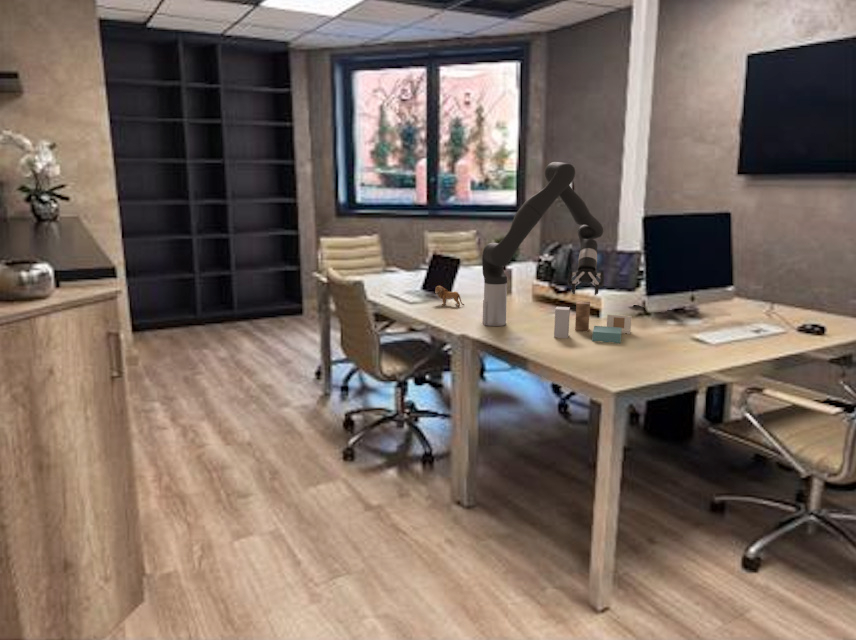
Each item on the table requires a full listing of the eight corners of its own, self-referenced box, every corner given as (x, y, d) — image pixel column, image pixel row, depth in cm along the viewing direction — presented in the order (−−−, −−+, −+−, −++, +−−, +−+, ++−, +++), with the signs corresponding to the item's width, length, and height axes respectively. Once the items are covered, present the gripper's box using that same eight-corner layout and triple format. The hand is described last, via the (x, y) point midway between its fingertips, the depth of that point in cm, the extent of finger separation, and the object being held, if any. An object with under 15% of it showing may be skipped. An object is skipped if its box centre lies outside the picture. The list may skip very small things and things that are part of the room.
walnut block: (575, 330, 254) (576, 303, 252) (575, 327, 259) (577, 301, 256) (588, 331, 253) (589, 304, 250) (588, 328, 258) (590, 301, 255)
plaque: (606, 332, 252) (607, 315, 250) (606, 329, 255) (607, 313, 254) (630, 333, 249) (631, 317, 248) (630, 331, 253) (631, 315, 251)
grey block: (554, 337, 244) (555, 309, 241) (555, 334, 249) (556, 306, 246) (567, 338, 242) (568, 309, 240) (568, 335, 247) (569, 307, 245)
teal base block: (592, 342, 239) (592, 331, 238) (593, 335, 248) (594, 325, 247) (620, 344, 236) (620, 333, 235) (621, 337, 245) (621, 327, 244)
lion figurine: (433, 305, 303) (433, 286, 301) (437, 303, 308) (437, 284, 306) (463, 307, 298) (463, 288, 296) (466, 305, 303) (466, 286, 301)
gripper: (570, 255, 268) (566, 287, 260) (605, 256, 264) (603, 289, 256) (570, 266, 274) (567, 297, 266) (604, 267, 271) (602, 299, 262)
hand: (584, 293), depth 261 cm, fingers open, 8 cm apart
